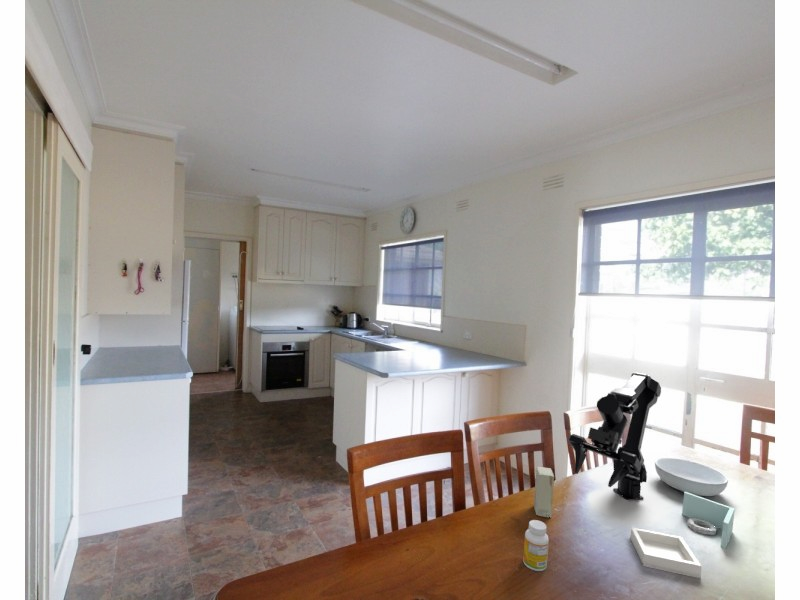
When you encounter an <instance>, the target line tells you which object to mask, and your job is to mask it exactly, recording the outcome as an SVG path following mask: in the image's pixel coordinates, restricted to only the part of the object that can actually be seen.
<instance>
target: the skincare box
mask: <svg viewBox="0 0 800 600" xmlns="http://www.w3.org/2000/svg"><path fill="white" fill-rule="evenodd" d="M535 472H536V473H535V484H534V485H535V486H534V488H535V489H534V497H533V498H534V501H533V508H534V511H535V515H536V516H537V515H538V517H544V518H549V517H550V518H552V512H553V510H552V509H553V497H554V483H555V474H554V472H553V470H552V468H550V467H544V466H536V470H535ZM550 518H549V519H550Z"/></svg>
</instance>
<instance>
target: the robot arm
mask: <svg viewBox="0 0 800 600" xmlns="http://www.w3.org/2000/svg"><path fill="white" fill-rule="evenodd" d="M661 394H662V387H661V385H660V382H658V381H657V380H654V379H653V378H652V377H651V376H650V375H648V374H647V373H640V372H632V373H631V376H630V378H629V379H628V380H627V381H626V382H625V384H624V385H623V386H622V387H620V388H614V389H613V390H611V391H610V392H608V393H607V395H605V396H602V397H600V398H599V399H598V400H597V402H596V408H597V409H598V413H599V415H600V416H601V419H602V420H603V421H602V424H601V426H599V427H598V428H594V427H592V426H591V427H589V430H588V436H587V439H589V440H590V441H591V443H590V442H587V439H586V438H585V437H583V436H582V435H581V436H580V435H578V434H575V433H572V434H571V435H569V437H568V439H567V442H568V443H569V445H570V446H571V448H572V449H573V450H574V453H575V456H574V457H575V461H574V462H575V465H574V470H575V471H574V472H575V474H577V475H578V474H579V473H580V471H581V469H582V466H583V464H584V462H585V460H586V457H587V454H586V453H588V451H590V452H593V453H595V454H599V455H602V456H603V457H607V458H610V459H612V460H613V465H612V466H613V472H612V474H611V476H610V477H609V480H608V483H607V486H608V488H611V487H613V486H614V485H615V484H616V483H617V487H615V488H613V491H614V492H615V493H617V494H618V495H619V496H621V497H622V498H623V499H625V500H627V501H628V500H629V501H630V500H644V496H642V495H641V489H642V488H641V487H642V486H641V484H643V483H647V479H648V478H647V477H648V476H647V474H648V471H647V469H646V468H647V467H646V465H645V459H644V456H643V454H642V444H643V440H644V435H645V431H646V426H647V422H648V417H649V412H650V409H651V408H652V407H653V406H655V405H656V404H657V403H658V399H659V398H660V396H661ZM625 414H628V415H631V418H630V423H629V425H628V418H627V416H626V415H625ZM627 426H629V427H628V431H627V436H626V439H625V443H624V445H622V446H619V445H621V444H622V438H623V435H624V432H625V429H626V427H627ZM592 443H593V444H592Z"/></svg>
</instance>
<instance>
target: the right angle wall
mask: <svg viewBox="0 0 800 600" xmlns="http://www.w3.org/2000/svg"><path fill="white" fill-rule="evenodd" d="M682 501H683V502H682V511H681V515H682V516H683V517H687V518H688V519H687V520H686V521H687V522H686V525H687V527H689V528H690V529H691V530H692V531H694V532H695V533H700V534H701V535H708V536H709V535H710V536H715V535H716V534H717V529H719V528H720V529H719V530H721V531H722V532H721V542H720V548H723V549H724V550H726V549H727V547H728V544H729V541H730V540H731V539H730V538H731V537H732V534H733V528H734V521H735V520H734V519H735V510H736V509H735V508H734V507H732V506H728V505H725V504H722V503H720V502H717V501H713V500H711V499H707V498H705V497H702V496H700V495H693V494H690V493H687V492H683V500H682ZM714 526H715V527H714ZM706 527H707V528H709V529H707V528H706ZM722 529H723V530H722ZM730 536H731V537H730Z"/></svg>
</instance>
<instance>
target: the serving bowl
mask: <svg viewBox="0 0 800 600" xmlns="http://www.w3.org/2000/svg"><path fill="white" fill-rule="evenodd" d="M654 467H655V471H656V473H657V475H658V477H659V478H660V479H661V480H662V481H663V482H664V483H665V484H667V485H668V486H670V487H672V488H673V489H676V490H678V491H681V492H683V493H684V492H687V493H690V494H693V495H696V496H699V497H702V496H703V497H713V496H718V495H719V494H721V493H723V492H724V491H725V490H726V488H727V486H728V483H729V478H728V477H727V476H726V475H725V474H723V472H721V471H719V470H717V469H715V468H713V467H710V466H709V465H708V466H707V465H705V464H703V463H699V462H695V461H693V460H692V461H691V460H688V459H687V460H686V459H681V458H676V457H675V458H674V457H660V458H657V459H656V460H654Z"/></svg>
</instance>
